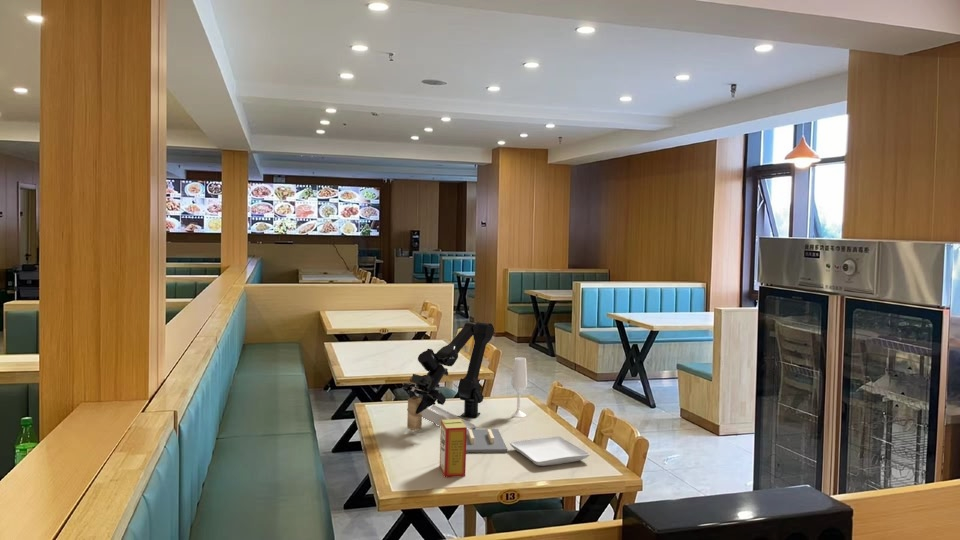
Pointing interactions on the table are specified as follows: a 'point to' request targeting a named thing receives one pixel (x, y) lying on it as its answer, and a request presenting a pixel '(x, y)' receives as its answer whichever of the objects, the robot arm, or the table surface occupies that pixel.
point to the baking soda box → (453, 447)
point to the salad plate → (549, 450)
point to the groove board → (485, 441)
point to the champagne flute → (519, 382)
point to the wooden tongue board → (414, 414)
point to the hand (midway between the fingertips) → (412, 412)
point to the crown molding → (442, 416)
